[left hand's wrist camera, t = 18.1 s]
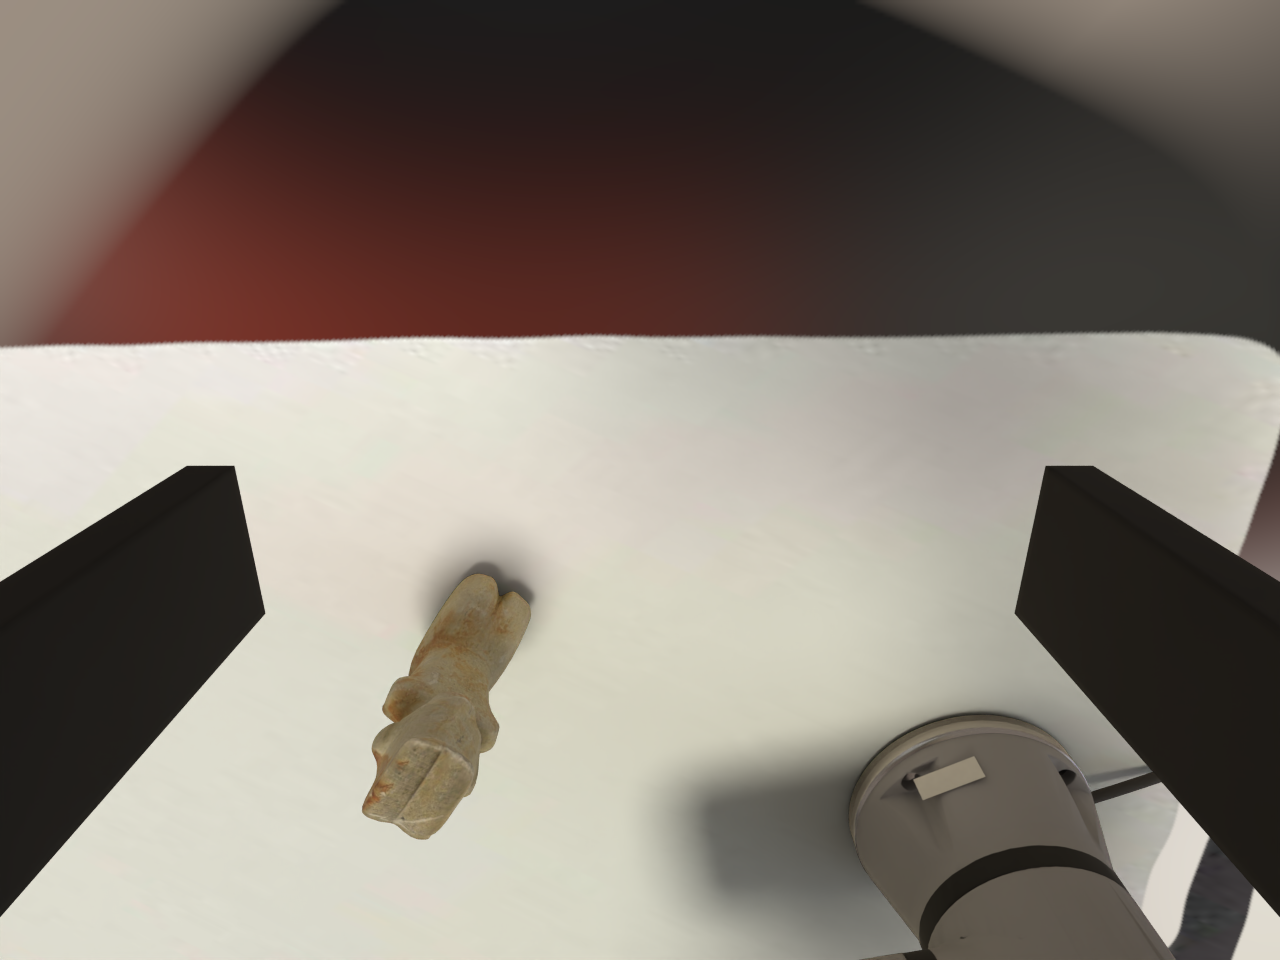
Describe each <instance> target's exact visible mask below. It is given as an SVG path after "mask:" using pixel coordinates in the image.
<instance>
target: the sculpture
mask: <svg viewBox="0 0 1280 960" xmlns="http://www.w3.org/2000/svg"><path fill="white" fill-rule="evenodd" d="M530 617H531V610H530V607H529V605H528V603H527V602H526V601H525V600H524V599H523V598H522V597H521V596H520V595H519V594H517V593H515V592H509V593H507V594H505V595H503V596H499V593H498V588H497V584H496V582H495V580H494V579H493V578H492V577H490V576H487V575H483V574H473V575H471V576H469V577H467V578H465V579H464V580H463V581H462V582H461V583H460V584H459V585H458V586H457V587H456V589H455V590H454V591H453V593H452V594H451V595H450V597H449V598H448V600H447V601H446V602H445V604H444V605H443V607H442V608H441V610H440V611H439V613H438V615H437V616H436V618H435V619H434V621H433V623H432V624H431V626H430V628H429V629H428V631H427V632H426V634H425V636H424V638H423V640H422V641H421V643H420V645H419V647H418V649H417V650H416V653H415V655H414V658H413V660H412V663H411V667H410V671H409V676H407V677H402V678H399V679H397V680H396V681H395V682H394V684H393V685H392V687H391V689H390V691H389V694H388V696H387V698H386V701H385V704H384V705H383V708H382V710H383V713H384V714H385V715H386V716H387V717H388V718H389V719H390V720H392V721H393V722H394V723H392V724H390V725H388V726H387V727H385V728H384V729H382V730H381V731H380V732H379V733H378V735H377V736H376V737H375V739H374V741H373V744H372V752H373V755H374V757H375V759H376V762H377V775H376V779H375V781H374V783H373V785H372V787H371V789H370V791H369V793H368V795H367V797H366V799H365V801H364V804H363V806H362V813H363V814H364V815H365V816H367V817H368V818H371V819H374V820H377V821H380V822H388V823H393V824H395V825H397V826H398V827H399V828H400V829H401V830H403V831H404V832H405V833H406V834H408V835H409V836H411V837H413V838H416V839H423V840H424V839H429V837H430V836H431V835H432V834H434V833H436V832H437V831H438V830H439V829H440V828H441V827H442V826H443V825H444V823H445V822H446V821H447V820H448V818H449V817H450V815H451V814H452V812H453V811H454V809H455V808H456V806H457V805H458V803H459V802H460V801H461V799H462V798H463V797H466V796H468V795H470V794H471V792H472V790H473V788H474V786H475V784H476V779H477V775H478V766H479V754H480V753H484V752H486V751H488V750H490V749H491V748H492V747H493V746H494V744H495V742H496V738H497V735H498V731H499V724H498V722H497V721H496V719H495V717H494V715H493V714H492V712H491V709H490V706H489V691H490V690H491V688H492V687H493V686H494V684H495V683H496V682H497V680H498V679H499V677H500V676H501V675H502V673H503V672H504V670H505V669H506V667H507V665H508V664H509V662H510V660H511V659H512V657H513V655H514V653H515V651H516V649H517V647H518V645H519V643H520V641H521V639H522V637H523V635H524V633H525V630H526V628H527V626H528V623H529V621H530Z"/></svg>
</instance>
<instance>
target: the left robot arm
mask: <svg viewBox="0 0 1280 960" xmlns="http://www.w3.org/2000/svg"><path fill="white" fill-rule="evenodd" d="M264 614H265V609H264V605H263V600H262V595H261V590H260V586H259V581H258V576H257V571H256V567H255V562H254V557H253V552H252V547H251V543H250V538H249V533H248V528H247V524H246V519H245V514H244V509H243V505H242V500H241V495H240V490H239V486H238V481H237V476H236V471H235V467H234V466H186V467H184V468H183V469H181V470H180V471H178V472H176V473H175V474H173V475H171V476H170V477H168V478H167V479H165V480H163V481H162V482H160V483H159V484H157V485H155V486H154V487H152V488H151V489H149V490H147V491H146V492H144V493H143V494H141V495H139V496H138V497H136V498H134V499H133V500H131V501H130V502H128V503H126V504H125V505H123V506H122V507H120V508H118V509H117V510H115V511H114V512H112V513H110V514H109V515H107V516H105V517H104V518H102V519H101V520H99V521H97V522H96V523H94V524H93V525H91V526H89V527H88V528H86V529H85V530H83V531H81V532H80V533H78V534H77V535H75V536H73V537H72V538H70V539H68V540H67V541H65V542H64V543H62V544H60V545H59V546H57V547H56V548H54V549H52V550H51V551H49V552H48V553H46V554H44V555H43V556H41V557H39V558H38V559H36V560H35V561H33V562H31V563H30V564H28V565H27V566H25V567H23V568H22V569H20V570H19V571H17V572H15V573H14V574H12V575H11V576H9V577H7V578H6V579H4V580H2V581H1V582H0V917H1V916H2V914H3V913H4V912H5V911H6V910H7V909H8V908H9V906H10V905H11V904H12V903H13V902H14V901H15V900H16V898H17V897H18V896H19V895H20V894H21V893H22V892H23V890H24V889H25V888H26V887H27V886H28V885H29V884H30V882H31V881H32V880H33V879H34V878H35V877H36V876H37V874H38V873H39V872H40V871H41V870H42V869H43V868H44V866H45V865H46V864H47V863H48V862H49V861H50V859H51V858H52V857H53V856H54V855H55V854H56V853H57V851H58V850H59V849H60V848H61V847H62V846H63V845H64V843H65V842H66V841H67V840H68V839H69V838H70V837H71V835H72V834H73V833H74V832H75V831H76V830H77V829H78V827H79V826H80V825H81V824H82V823H83V822H84V821H85V819H86V818H87V817H88V816H89V815H90V814H91V813H92V811H93V810H94V809H95V808H96V807H97V806H98V805H99V803H100V802H101V801H102V800H103V799H104V798H105V797H106V795H107V794H108V793H109V792H110V791H111V790H112V788H113V787H114V786H115V785H116V784H117V783H118V782H119V780H120V779H121V778H122V777H123V776H124V775H125V774H126V772H127V771H128V770H129V769H130V768H131V767H132V766H133V764H134V763H135V762H136V761H137V760H138V759H139V758H140V756H141V755H142V754H143V753H144V752H145V751H146V750H147V748H148V747H149V746H150V745H151V744H152V743H153V742H154V740H155V739H156V738H157V737H158V736H159V735H160V734H161V732H162V731H163V730H164V729H165V728H166V727H167V726H168V724H169V723H170V722H171V721H172V720H173V719H174V717H175V716H176V715H177V714H178V713H179V712H180V711H181V709H182V708H183V707H184V706H185V705H186V704H187V703H188V701H189V700H190V699H191V698H192V697H193V696H194V695H195V693H196V692H197V691H198V690H199V689H200V688H201V687H202V685H203V684H204V683H205V682H206V681H207V680H208V679H209V677H210V676H211V675H212V674H213V673H214V672H215V671H216V669H217V668H218V667H219V666H220V665H221V664H222V663H223V661H224V660H225V659H226V658H227V657H228V656H229V655H230V653H231V652H232V651H233V650H234V649H235V648H236V646H237V645H238V644H239V643H240V642H241V641H242V640H243V638H244V637H245V636H246V635H247V634H248V633H249V632H250V630H251V629H252V628H253V627H254V626H255V625H256V624H257V622H258V621H259V620H260V619H261V618H262V617H263V616H264ZM1015 614H1016V616H1017V617H1018V618H1019V619H1020V620H1021V621H1022V622H1023V624H1024V625H1025V626H1026V627H1027V628H1028V629H1029V630H1030V632H1031V633H1032V634H1033V635H1034V636H1035V637H1036V638H1037V640H1038V641H1039V642H1040V643H1041V644H1042V645H1043V646H1044V648H1045V649H1046V650H1047V651H1048V652H1049V653H1050V655H1051V656H1052V657H1053V658H1054V659H1055V660H1056V661H1057V663H1058V664H1059V665H1060V666H1061V667H1062V668H1063V669H1064V671H1065V672H1066V673H1067V674H1068V675H1069V676H1070V677H1071V679H1072V680H1073V681H1074V682H1075V683H1076V684H1077V685H1078V687H1079V688H1080V689H1081V690H1082V691H1083V692H1084V693H1085V695H1086V696H1087V697H1088V698H1089V699H1090V700H1091V701H1092V703H1093V704H1094V705H1095V706H1096V707H1097V708H1098V709H1099V711H1100V712H1101V713H1102V714H1103V715H1104V716H1105V717H1106V719H1107V720H1108V721H1109V722H1110V723H1111V724H1112V726H1113V727H1114V728H1115V729H1116V730H1117V731H1118V732H1119V734H1120V735H1121V736H1122V737H1123V738H1124V739H1125V740H1126V742H1127V743H1128V744H1129V745H1130V746H1131V747H1132V748H1133V750H1134V751H1135V752H1136V753H1137V754H1138V755H1139V756H1140V758H1141V759H1142V760H1143V761H1144V762H1145V763H1146V764H1147V766H1148V767H1149V768H1150V769H1151V770H1152V771H1153V772H1151V773H1148V774H1145V775H1142V776H1139V777H1136V778H1133V779H1130V780H1127V781H1124V782H1121V783H1118V784H1115V785H1111V786H1108V787H1105V788H1102V789H1099V790H1095V791H1092V792H1091V791H1090V788H1089V786H1088V783H1087V780H1086V779H1085V777H1084V775H1083V773H1082V772H1081V770H1080V769H1079V768H1078V766H1077V765H1076V764H1075V762H1074V761H1073V760H1072V758H1071V757H1070V756H1069V754H1068V753H1067V752H1066V750H1065V749H1064V748H1063V747H1062V746H1061V744H1060V743H1059V742H1058V741H1057V740H1055V739H1054V738H1053V737H1052V736H1051V735H1049V734H1048V733H1046V732H1045V731H1043V730H1042V729H1040V728H1038V727H1036V726H1034V725H1032V724H1029V723H1026V722H1024V721H1021V720H1017V719H1013V718H1009V717H1003V716H995V715H967V716H959V717H953V718H948V719H944V720H940V721H937V722H933V723H930V724H928V725H925V726H922V727H920V728H918V729H916V730H914V731H911V732H909V733H908V734H906V735H904V736H902V737H901V738H899V739H897V740H896V741H895V742H893V743H892V744H890V745H889V746H888V747H886V748H885V749H884V750H883V751H882V752H880V753H879V754H878V755H877V756H876V757H875V758H874V759H873V760H872V762H871V763H870V764H869V765H868V766H867V768H866V769H865V770H864V772H863V773H862V775H861V776H860V778H859V780H858V782H857V784H856V786H855V788H854V791H853V793H852V797H851V800H850V806H849V827H850V831H851V835H852V838H853V842H854V845H855V848H856V851H857V854H858V857H859V859H860V862H861V864H862V866H863V868H864V869H865V871H866V872H867V874H868V875H869V877H870V878H871V879H872V881H873V882H874V883H875V885H876V886H877V887H878V888H879V890H880V891H881V892H882V894H883V895H884V896H885V898H886V899H887V900H888V901H889V903H890V904H891V905H892V907H893V908H894V909H895V910H896V912H897V913H898V914H899V916H900V917H901V918H902V919H903V921H904V922H905V923H906V925H907V926H908V927H909V928H910V930H911V931H912V932H913V933H914V935H915V936H916V937H917V939H918V940H919V942H920V945H921V947H922V950H920V951H914V952H907V953H898V954H892V955H885V956H879V957H873V958H867V959H861V960H1176V959H1175V958H1174V956H1173V955H1172V953H1171V952H1170V950H1169V949H1168V948H1167V946H1166V945H1165V943H1164V942H1163V940H1162V939H1161V938H1160V936H1159V935H1158V933H1157V932H1156V931H1155V929H1154V928H1153V926H1152V925H1151V924H1150V922H1149V921H1148V919H1147V918H1146V916H1145V915H1144V913H1143V912H1142V911H1141V909H1140V908H1139V906H1138V905H1137V904H1136V902H1135V901H1134V899H1133V898H1132V897H1131V895H1130V894H1129V892H1128V891H1127V889H1126V888H1125V886H1124V885H1123V884H1122V882H1121V881H1120V879H1119V878H1118V876H1117V875H1116V873H1115V872H1114V870H1113V868H1112V864H1111V861H1110V857H1109V854H1108V850H1107V846H1106V843H1105V839H1104V836H1103V832H1102V829H1101V825H1100V822H1099V818H1098V815H1097V811H1096V808H1095V803H1098V802H1102V801H1105V800H1108V799H1111V798H1114V797H1117V796H1121V795H1124V794H1127V793H1130V792H1133V791H1136V790H1139V789H1142V788H1145V787H1148V786H1151V785H1154V784H1157V783H1160V782H1162V783H1163V784H1164V785H1165V786H1166V787H1167V788H1168V790H1169V791H1170V792H1171V793H1172V794H1173V795H1174V797H1175V798H1176V799H1177V800H1178V801H1179V802H1180V803H1181V805H1182V806H1183V807H1184V808H1185V809H1186V810H1187V811H1188V813H1189V814H1190V815H1191V816H1192V817H1193V818H1194V819H1195V821H1196V822H1197V823H1198V824H1199V825H1200V826H1201V827H1202V829H1203V830H1204V831H1205V832H1206V833H1207V834H1208V835H1209V837H1210V838H1211V839H1212V840H1213V841H1214V842H1215V843H1216V845H1217V846H1218V847H1219V848H1220V849H1221V850H1222V851H1223V853H1224V854H1225V855H1226V856H1227V857H1228V858H1229V859H1230V861H1231V862H1232V863H1233V864H1234V865H1235V866H1236V868H1237V869H1238V870H1239V871H1240V872H1241V873H1242V874H1243V876H1244V877H1245V878H1246V879H1247V880H1248V881H1249V882H1250V884H1251V885H1252V886H1253V887H1254V888H1255V889H1256V890H1257V892H1258V893H1259V894H1260V895H1261V896H1262V897H1263V898H1264V900H1265V901H1266V902H1267V903H1268V904H1269V905H1270V906H1271V908H1272V909H1273V910H1274V911H1275V912H1276V913H1277V914H1278V916H1279V917H1280V582H1279V581H1278V580H1276V579H1274V578H1273V577H1271V576H1269V575H1268V574H1266V573H1265V572H1263V571H1261V570H1260V569H1258V568H1257V567H1255V566H1253V565H1252V564H1250V563H1248V562H1247V561H1245V560H1244V559H1242V558H1241V557H1239V556H1237V555H1236V554H1234V553H1232V552H1231V551H1229V550H1228V549H1226V548H1224V547H1223V546H1221V545H1220V544H1218V543H1216V542H1215V541H1213V540H1212V539H1210V538H1208V537H1207V536H1205V535H1203V534H1202V533H1200V532H1199V531H1197V530H1195V529H1194V528H1192V527H1191V526H1189V525H1187V524H1186V523H1184V522H1183V521H1181V520H1179V519H1178V518H1176V517H1175V516H1173V515H1171V514H1170V513H1168V512H1166V511H1165V510H1163V509H1162V508H1160V507H1158V506H1157V505H1155V504H1154V503H1152V502H1150V501H1149V500H1147V499H1146V498H1144V497H1142V496H1141V495H1139V494H1137V493H1136V492H1134V491H1133V490H1131V489H1129V488H1128V487H1126V486H1125V485H1123V484H1121V483H1120V482H1118V481H1117V480H1115V479H1113V478H1112V477H1110V476H1109V475H1107V474H1105V473H1104V472H1102V471H1100V470H1099V469H1097V468H1096V467H1094V466H1046V467H1045V471H1044V476H1043V481H1042V486H1041V490H1040V495H1039V500H1038V505H1037V509H1036V514H1035V519H1034V524H1033V528H1032V533H1031V538H1030V543H1029V547H1028V552H1027V557H1026V562H1025V567H1024V571H1023V576H1022V581H1021V586H1020V590H1019V595H1018V600H1017V605H1016V609H1015Z"/></svg>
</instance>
